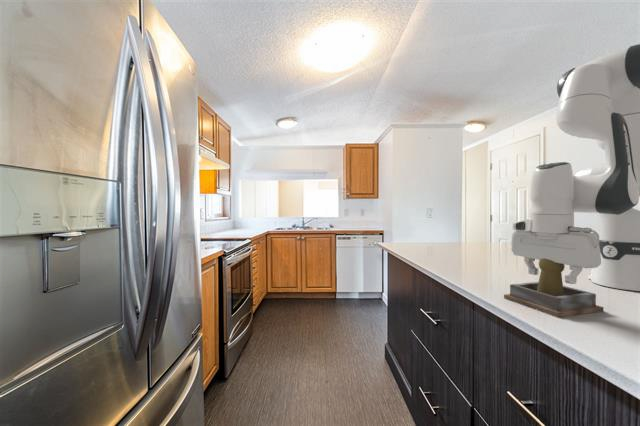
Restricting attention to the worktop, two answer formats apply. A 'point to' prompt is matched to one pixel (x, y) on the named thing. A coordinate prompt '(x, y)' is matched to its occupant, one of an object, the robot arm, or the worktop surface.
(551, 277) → the cork
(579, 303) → the grey-rimmed square tray
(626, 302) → the worktop surface
